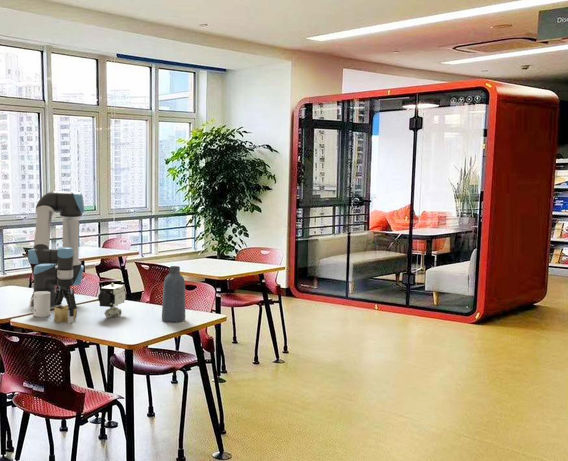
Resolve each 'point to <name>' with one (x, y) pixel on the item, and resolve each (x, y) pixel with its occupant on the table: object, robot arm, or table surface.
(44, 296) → the mug
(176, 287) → the gray bottle
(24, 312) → the table surface
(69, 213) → the robot arm
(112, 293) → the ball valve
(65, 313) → the tan block
